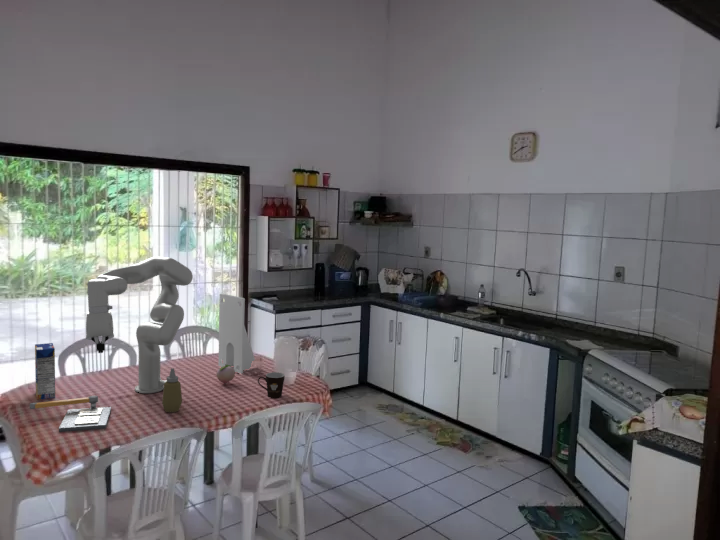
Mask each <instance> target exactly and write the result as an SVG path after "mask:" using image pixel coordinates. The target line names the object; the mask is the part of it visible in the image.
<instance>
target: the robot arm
mask: <svg viewBox="0 0 720 540" xmlns="http://www.w3.org/2000/svg"><path fill="white" fill-rule="evenodd" d="M155 277H158V278H159V281H160V282H159V283H160V286H161V287H160V288H161V290H160V293H159V296H158V298H157V299H156V301H155V302H154V304H153V306H152V308H151V310H150V314H149V318H150V319H151V321H153V322H151V321H145V322H142V323H140V324H139V325H138V326H137V328H136V332H135V336H136V342H137V348H138V349H137V350H138V385H136V386H134V391H135V392H136V393H138V392H139V394H154V393H158V392H162V391H164V383H165V382H167V379H166V380H163V379H162V377H161V348H160V346H168V345H170V344H171V343H172V342H173V341H174V338H175V337H176V334H178V331H179V329H180V327H181V325H182V324H183V321H184V319H185V310H184V308H183V307H182V306H181V305H179V304H177V302H178V300H179V294H180V293H179V290H178V287H177V286H185V287H186V286H189V285H190V284H191V283H192V281H193V279H194V278H193V277H194V275H193V272H192V271H191V269H190V268H189V267H187V266H185V265H184V264H182V263H181V262H180V261H178V260H177V259H174V258H172V257H164V256H152V257H150V258H149V257H148V258H147V259H145V260H142V261H141V262H138V263H135V264H132V265H128V266H125V267H120V268H116V269H115V268H114V269H112V270H109V271H107V272H103V273H102V274H99V275H98V276H96V277H95V278H94V279H90V280H88V281H87V284H86V285H87V286H86V287H87V288H86V289H87V302H88V303H87V304H88V306H87V307H88V311H87V313H86V318H85V319H86V320H85V334H86V336H85V340H89V341H93V342H94V343H95V345H96V346H95V348H96V351H97V352H98V354H103V352H104V351H106V346H105V344H106V342H107V341H108V340H109V339H110V340H111V339H114V337H115V334H114V333H115V332H114V321H113V314H112V311H111V310H113V305H110V304H109V296H119V295H122V294H124V293H125V292H126V291H127V290H128V285H135V284H142V283H144V282H146V281H148V280H150V279H152V278H155ZM99 337H101V340H100V339H99Z"/></svg>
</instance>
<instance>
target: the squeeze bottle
mask: <svg viewBox="0 0 720 540" xmlns="http://www.w3.org/2000/svg"><path fill="white" fill-rule="evenodd" d="M166 380H167V382H165V383H164V385H163V386H164V389H163V390H162V391H163V392H162V400H161V403H162V407H163V410H164V412H166V413H176V412H179V411H180V408H181V406H182V403H183V397H182V386H181V385H182V384H181V382H180V381H179V376H178V375H176V372H175V368H170V371H169V375H168V376H166Z"/></svg>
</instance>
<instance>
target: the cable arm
mask: <svg viewBox="0 0 720 540" xmlns="http://www.w3.org/2000/svg"><path fill="white" fill-rule="evenodd" d="M98 402H99V395H90V396H85V397H79V398H78V397H77V398H70V399H69V398H68V399H59V400H52V401H51V400H50V401H43V402H42V401H40V402H30V403H29V410H36V409H42V408H52V407H60V406H69V405H78V404H86V403H89V404H91V403H96V404H97V403H98Z"/></svg>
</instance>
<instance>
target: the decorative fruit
mask: <svg viewBox="0 0 720 540" xmlns="http://www.w3.org/2000/svg"><path fill="white" fill-rule="evenodd" d="M235 375H236V373H235V371H234V367H231V366H230V365H226V364H225V366H223V367H221V368H220V367H219V368H218V369H217V371H216V378H217V379H218V381H219V382H220V383H221V384H224V385H226V384H227V383H230V382H231V381H232V380H234V378H235ZM225 383H226V384H225Z"/></svg>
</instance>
